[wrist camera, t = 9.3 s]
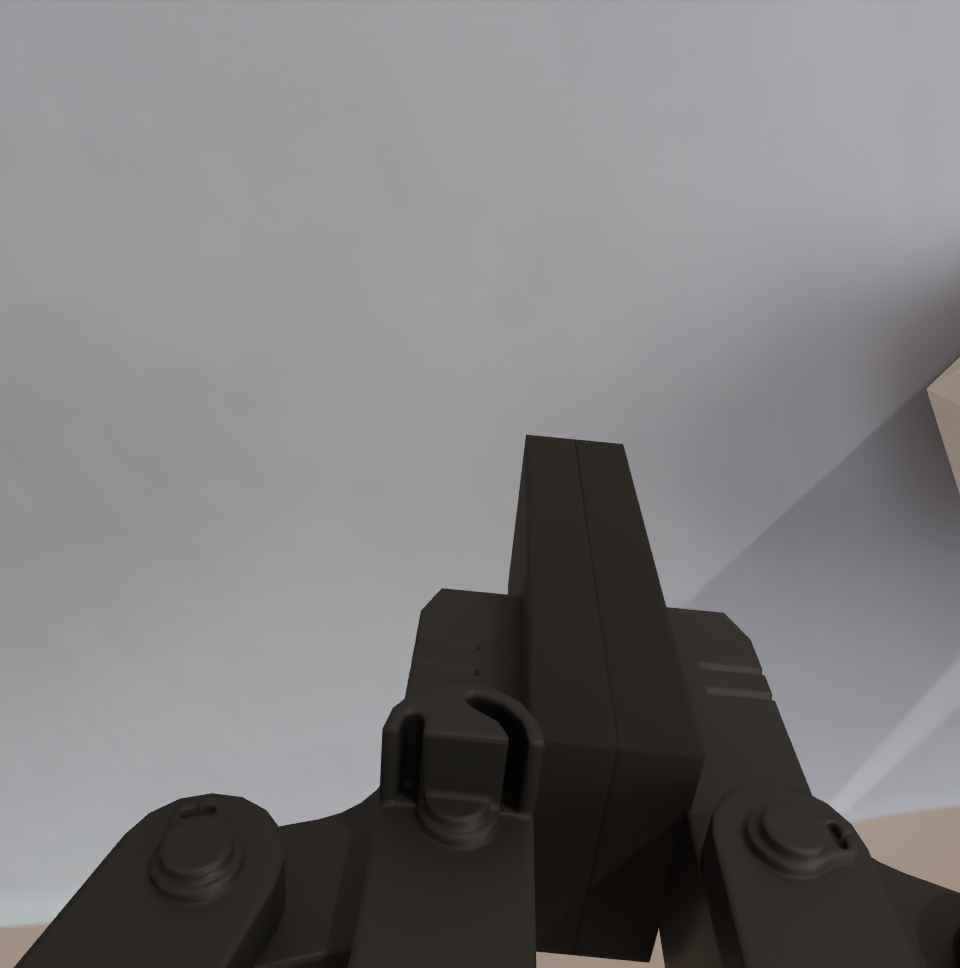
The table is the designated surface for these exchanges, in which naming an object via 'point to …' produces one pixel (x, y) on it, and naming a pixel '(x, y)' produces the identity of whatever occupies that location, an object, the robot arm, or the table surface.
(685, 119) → the table surface
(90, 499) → the table surface
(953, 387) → the die
